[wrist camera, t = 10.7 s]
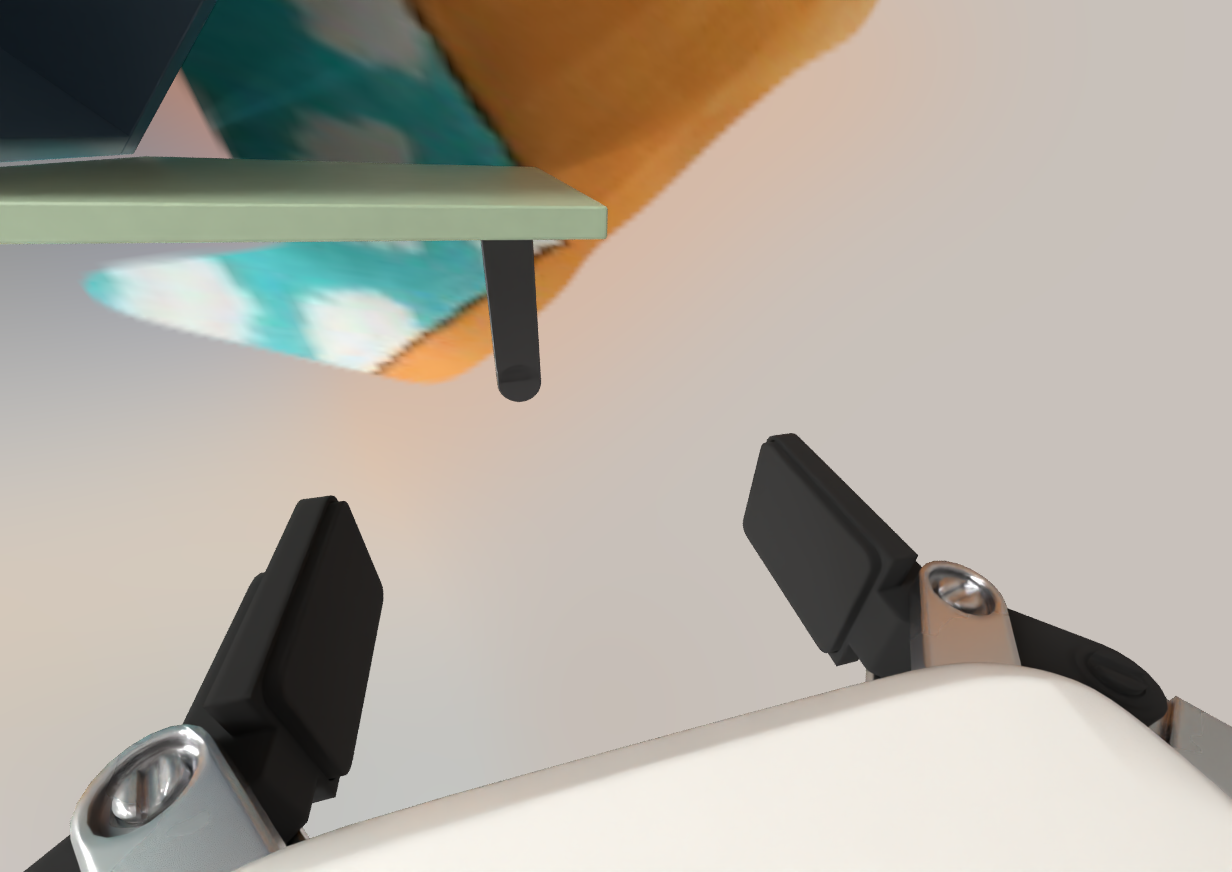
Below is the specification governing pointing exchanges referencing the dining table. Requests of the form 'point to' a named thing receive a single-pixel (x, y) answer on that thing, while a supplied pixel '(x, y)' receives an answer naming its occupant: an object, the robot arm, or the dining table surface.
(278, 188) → the door
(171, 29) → the cupboard
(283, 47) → the dining table surface
